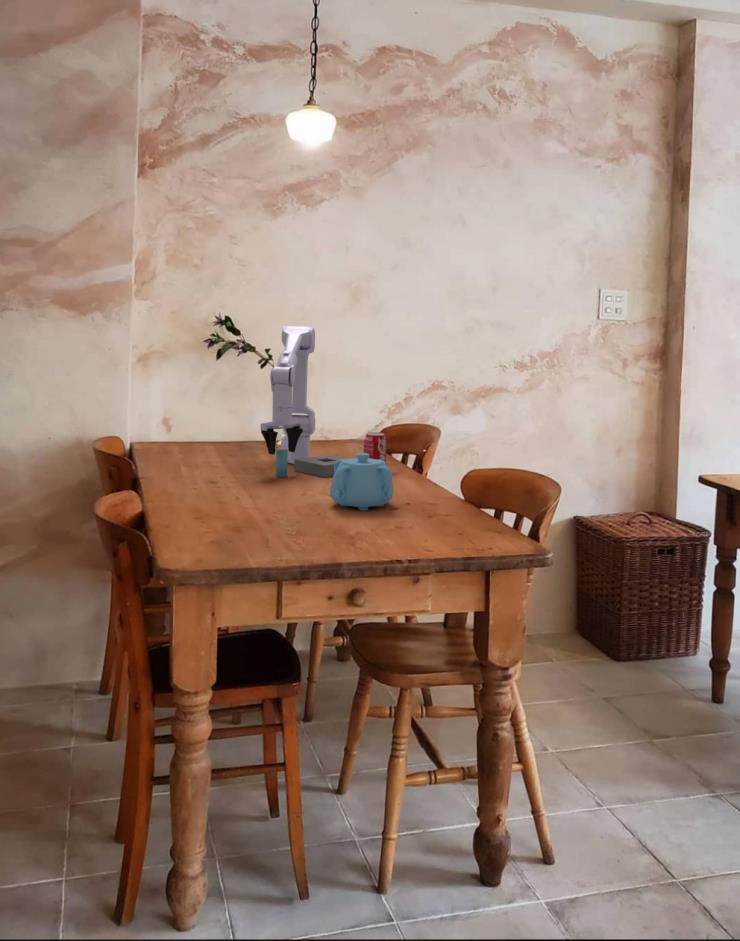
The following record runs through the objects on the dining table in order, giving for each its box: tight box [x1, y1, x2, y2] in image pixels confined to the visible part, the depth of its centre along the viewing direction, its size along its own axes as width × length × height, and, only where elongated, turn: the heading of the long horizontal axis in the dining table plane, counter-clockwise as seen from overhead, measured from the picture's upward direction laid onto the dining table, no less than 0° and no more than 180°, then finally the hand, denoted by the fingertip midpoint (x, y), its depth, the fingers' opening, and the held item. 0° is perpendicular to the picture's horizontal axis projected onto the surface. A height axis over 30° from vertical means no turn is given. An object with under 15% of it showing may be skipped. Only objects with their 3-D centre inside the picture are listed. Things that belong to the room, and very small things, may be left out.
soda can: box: [362, 431, 387, 463], centre depth 287 cm, size 7×7×12 cm
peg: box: [275, 448, 289, 478], centre depth 276 cm, size 3×3×8 cm
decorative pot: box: [329, 452, 394, 511], centre depth 238 cm, size 16×16×14 cm
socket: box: [293, 454, 348, 478], centre depth 286 cm, size 14×14×4 cm
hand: (281, 452), depth 275 cm, fingers open, 7 cm apart
